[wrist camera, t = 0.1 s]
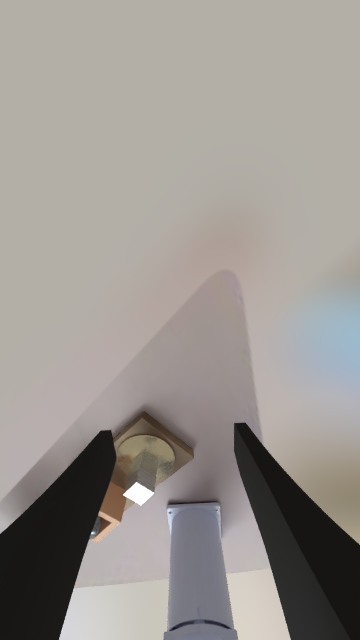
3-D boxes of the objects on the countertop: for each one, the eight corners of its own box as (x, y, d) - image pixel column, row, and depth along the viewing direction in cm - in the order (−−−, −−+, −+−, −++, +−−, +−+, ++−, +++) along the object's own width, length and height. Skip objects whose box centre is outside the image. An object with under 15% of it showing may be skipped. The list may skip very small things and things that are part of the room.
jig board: (111, 513, 26) (108, 523, 25) (63, 484, 24) (58, 492, 23) (193, 450, 23) (193, 457, 22) (144, 411, 21) (142, 417, 20)
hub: (186, 454, 22) (187, 491, 18) (151, 487, 23) (145, 526, 19) (140, 424, 20) (130, 456, 17) (105, 459, 22) (90, 496, 18)
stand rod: (111, 498, 24) (98, 538, 20) (96, 499, 24) (80, 539, 20) (108, 487, 23) (95, 526, 19) (93, 487, 23) (76, 527, 19)
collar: (128, 491, 23) (120, 522, 20) (107, 511, 24) (97, 542, 21) (97, 473, 22) (84, 502, 20) (77, 494, 23) (62, 525, 20)
